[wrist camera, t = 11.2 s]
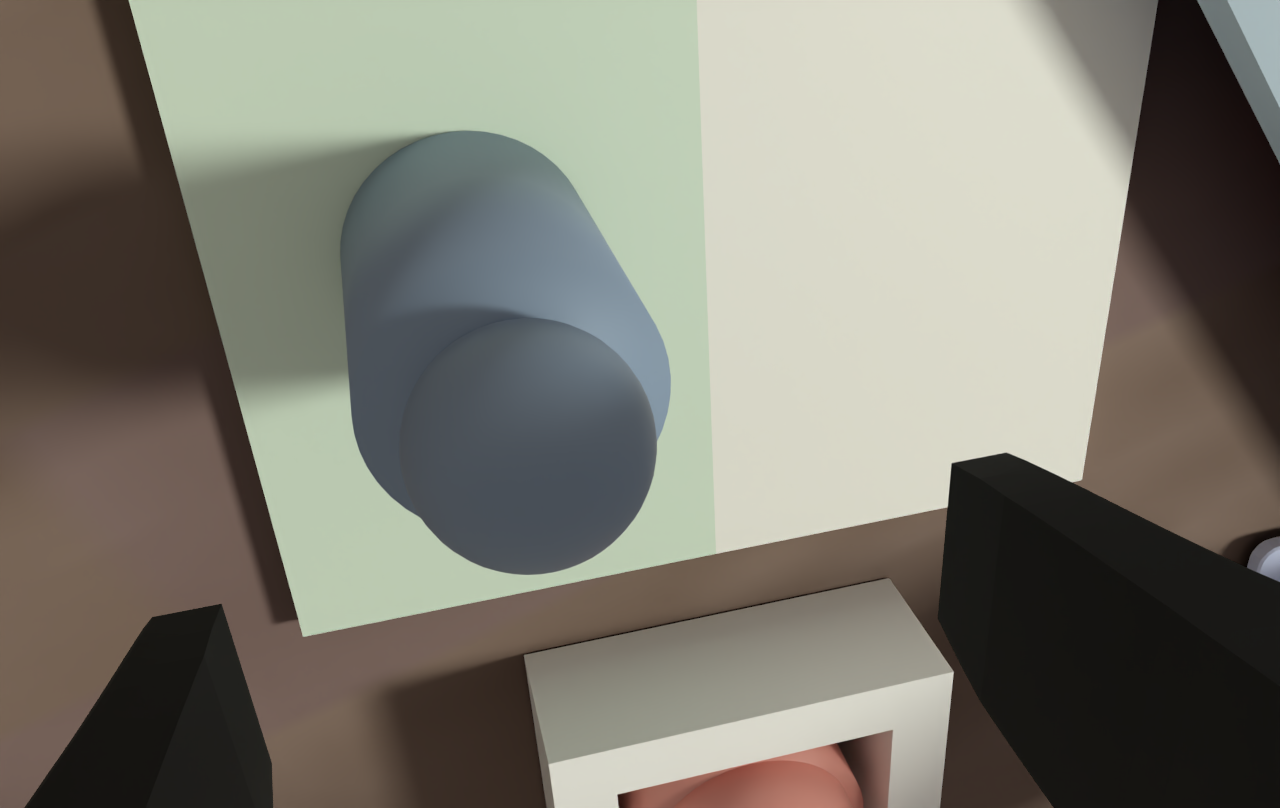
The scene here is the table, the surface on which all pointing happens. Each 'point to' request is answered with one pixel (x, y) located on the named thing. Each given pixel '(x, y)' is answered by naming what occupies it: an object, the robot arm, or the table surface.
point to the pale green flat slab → (680, 242)
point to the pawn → (498, 355)
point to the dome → (761, 785)
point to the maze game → (1252, 54)
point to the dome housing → (748, 699)
